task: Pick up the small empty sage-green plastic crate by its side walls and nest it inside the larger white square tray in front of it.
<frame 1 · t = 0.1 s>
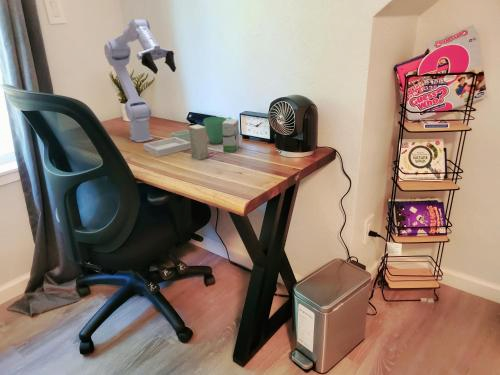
hand: (165, 71, 145), 32 cm above the table, tool tilted 50°, fingers open, 7 cm apart
ink box: (231, 149, 161), on the table
small crate: (182, 140, 176), on the table
white square tray: (167, 149, 163), on the table
mug: (220, 141, 172), on the table
skincare box: (199, 157, 153), on the table
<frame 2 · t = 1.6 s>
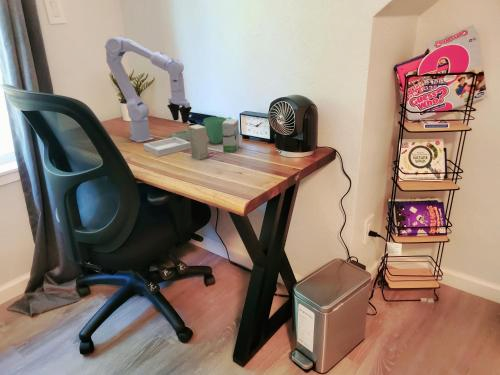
hand: (180, 121, 172), 8 cm above the table, tool pointing down, fingers open, 7 cm apart
nothing on the table moved.
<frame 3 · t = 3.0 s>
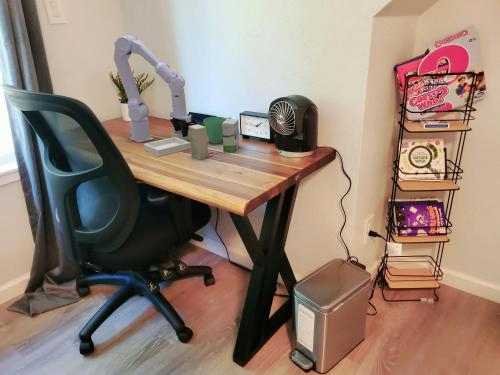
hand: (181, 135, 175), 2 cm above the table, tool pointing down, fingers closed on small crate, 5 cm apart
small crate: (182, 139, 176), on the table, touching gripper
everything else where it was.
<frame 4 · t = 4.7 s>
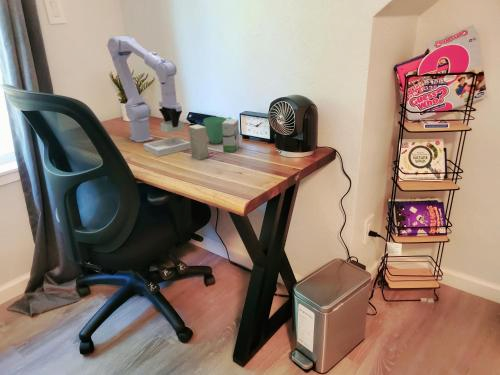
hand: (172, 125, 165), 8 cm above the table, tool pointing down, fingers closed on small crate, 5 cm apart
small crate: (172, 130, 166), point 6 cm above the table, touching gripper
everything else where it was.
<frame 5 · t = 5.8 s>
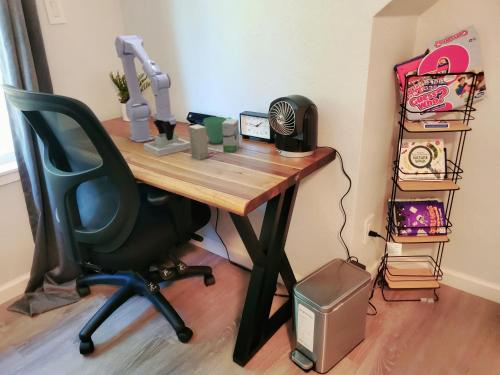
hand: (166, 138, 161), 5 cm above the table, tool pointing down, fingers closed on small crate, 5 cm apart
small crate: (167, 142, 162), point 3 cm above the table, touching gripper
everything else where it was.
when the fingers open (4 cm above the table, at t = 6.4 s): small crate drops 1 cm, resting on white square tray.
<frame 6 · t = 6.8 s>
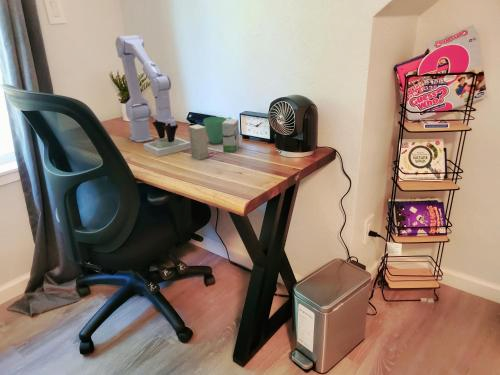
hand: (166, 139, 161), 4 cm above the table, tool pointing down, fingers open, 7 cm apart
small crate: (167, 147, 163), resting on white square tray
everything else where it was.
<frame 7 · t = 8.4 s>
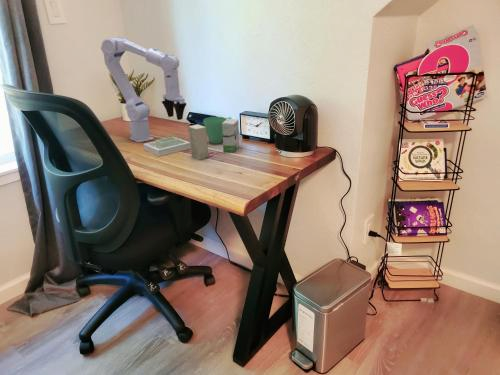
hand: (175, 118, 169), 10 cm above the table, tool pointing down, fingers open, 7 cm apart
nothing on the table moved.
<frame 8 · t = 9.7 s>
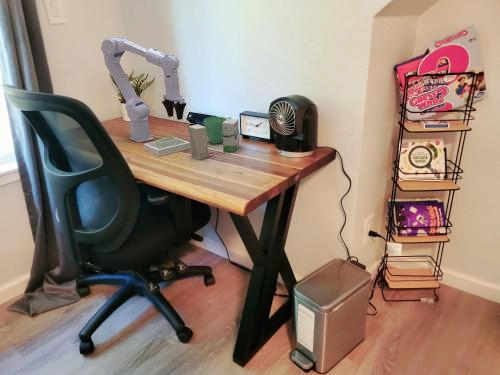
hand: (175, 118, 169), 10 cm above the table, tool pointing down, fingers open, 7 cm apart
nothing on the table moved.
at the end: small crate 0.1 cm off-centre on the white square tray, point 0.5 cm above the white square tray's base; small crate tilted 0°; the gripper is holding nothing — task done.
